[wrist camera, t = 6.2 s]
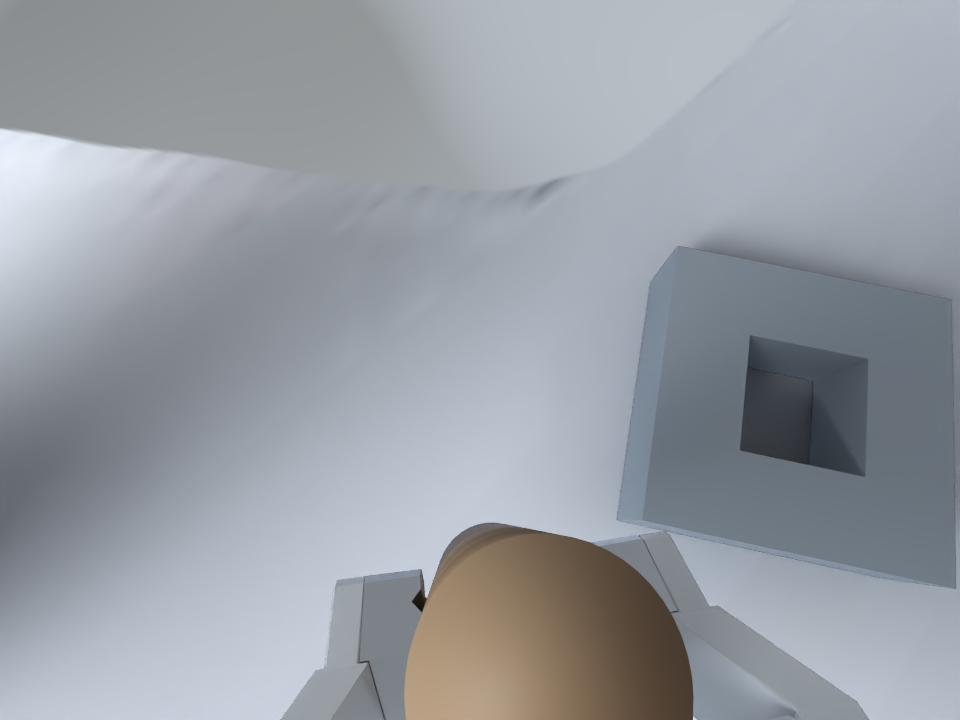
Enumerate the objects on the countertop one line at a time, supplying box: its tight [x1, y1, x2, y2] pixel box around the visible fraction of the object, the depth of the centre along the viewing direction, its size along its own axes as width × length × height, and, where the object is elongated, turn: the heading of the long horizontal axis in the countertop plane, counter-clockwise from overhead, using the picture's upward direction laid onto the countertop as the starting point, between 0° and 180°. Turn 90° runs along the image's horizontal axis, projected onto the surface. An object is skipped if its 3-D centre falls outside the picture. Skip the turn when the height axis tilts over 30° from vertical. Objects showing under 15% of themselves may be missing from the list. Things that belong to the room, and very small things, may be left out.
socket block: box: [617, 246, 956, 589], centre depth 25 cm, size 12×12×4 cm
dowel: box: [404, 523, 694, 720], centre depth 11 cm, size 3×3×10 cm
